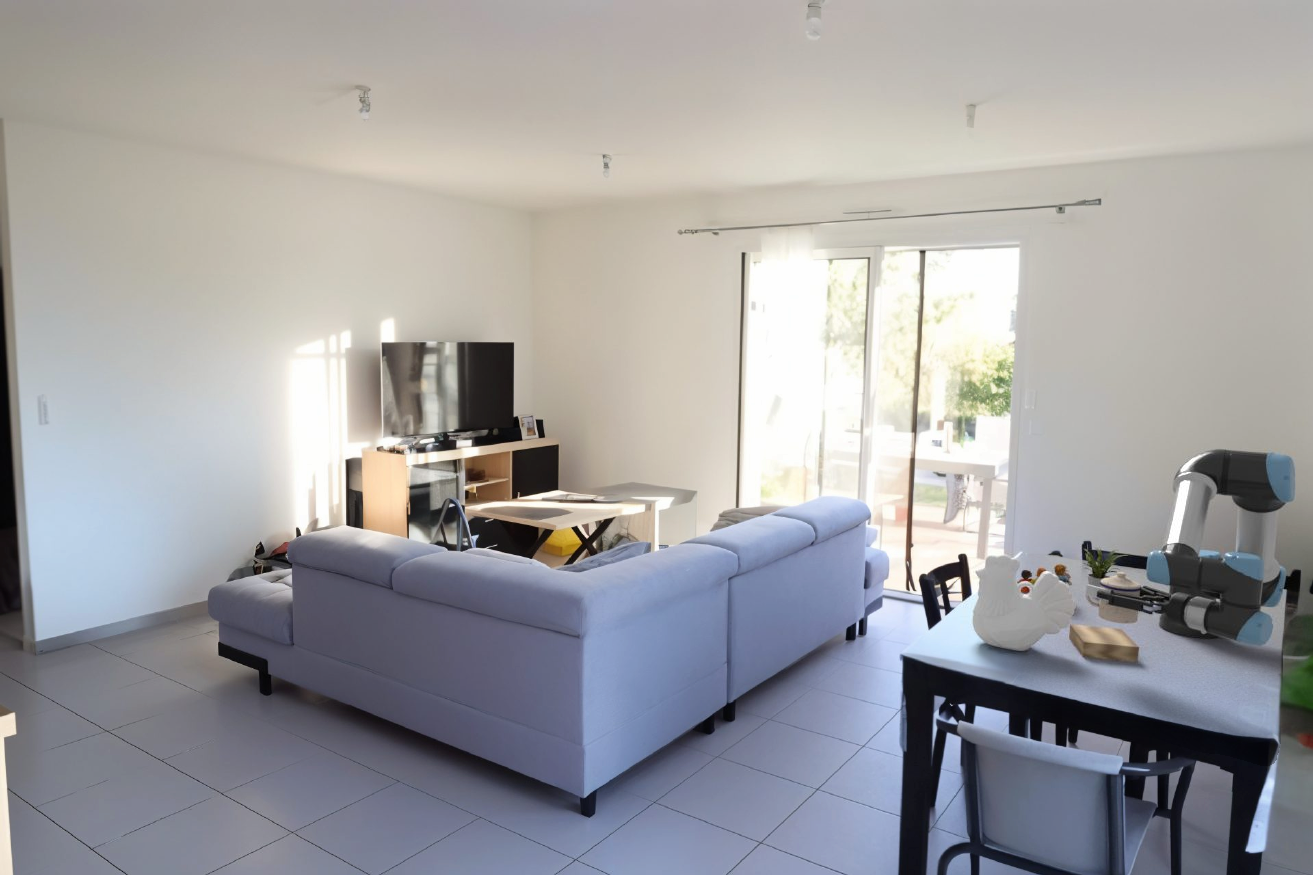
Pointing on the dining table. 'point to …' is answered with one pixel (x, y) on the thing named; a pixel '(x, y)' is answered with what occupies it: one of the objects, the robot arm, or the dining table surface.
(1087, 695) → the dining table surface
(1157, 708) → the dining table surface
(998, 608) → the decorative rooster
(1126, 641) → the oak slab
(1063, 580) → the doll family
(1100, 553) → the house plant
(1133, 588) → the teacup with lid
